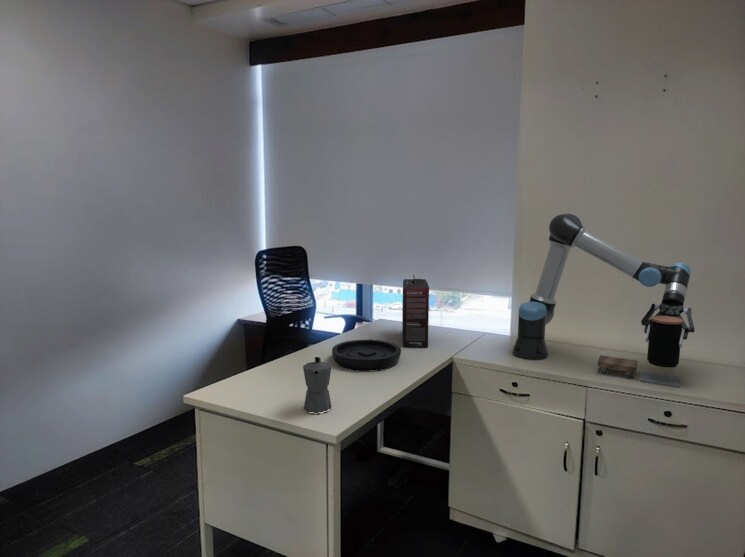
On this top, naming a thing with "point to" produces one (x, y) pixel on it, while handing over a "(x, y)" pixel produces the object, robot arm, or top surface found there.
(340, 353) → the round tray
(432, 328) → the top surface
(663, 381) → the pad
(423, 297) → the headset box
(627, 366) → the brown toy cart
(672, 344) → the coffee jar
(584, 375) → the top surface
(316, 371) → the coffeepot
